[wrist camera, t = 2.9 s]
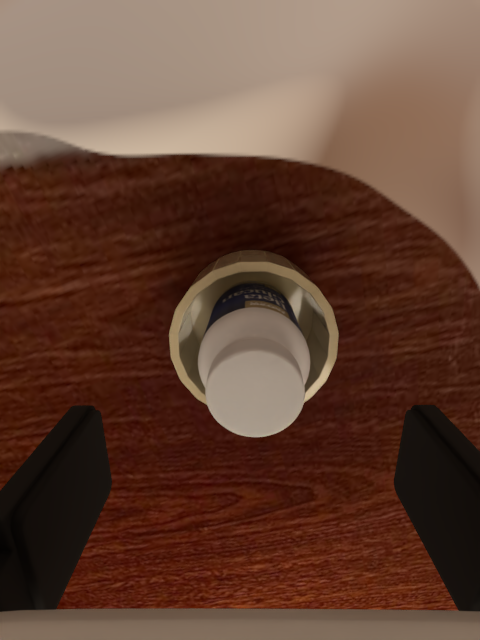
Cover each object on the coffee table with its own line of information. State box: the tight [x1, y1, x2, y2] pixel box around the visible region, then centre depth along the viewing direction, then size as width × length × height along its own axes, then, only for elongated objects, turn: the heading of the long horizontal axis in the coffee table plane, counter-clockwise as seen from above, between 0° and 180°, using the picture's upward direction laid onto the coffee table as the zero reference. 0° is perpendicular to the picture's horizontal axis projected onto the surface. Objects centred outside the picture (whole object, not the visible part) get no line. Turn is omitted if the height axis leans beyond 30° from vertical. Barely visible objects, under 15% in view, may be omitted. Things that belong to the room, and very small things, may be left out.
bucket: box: [169, 250, 339, 405], centre depth 21 cm, size 9×9×5 cm
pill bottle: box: [198, 281, 310, 437], centre depth 18 cm, size 5×5×10 cm
